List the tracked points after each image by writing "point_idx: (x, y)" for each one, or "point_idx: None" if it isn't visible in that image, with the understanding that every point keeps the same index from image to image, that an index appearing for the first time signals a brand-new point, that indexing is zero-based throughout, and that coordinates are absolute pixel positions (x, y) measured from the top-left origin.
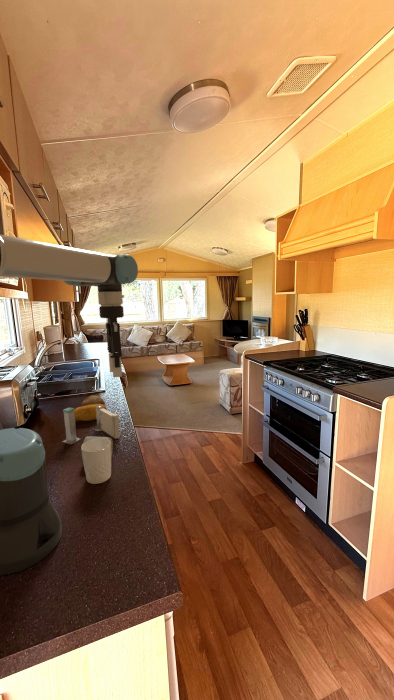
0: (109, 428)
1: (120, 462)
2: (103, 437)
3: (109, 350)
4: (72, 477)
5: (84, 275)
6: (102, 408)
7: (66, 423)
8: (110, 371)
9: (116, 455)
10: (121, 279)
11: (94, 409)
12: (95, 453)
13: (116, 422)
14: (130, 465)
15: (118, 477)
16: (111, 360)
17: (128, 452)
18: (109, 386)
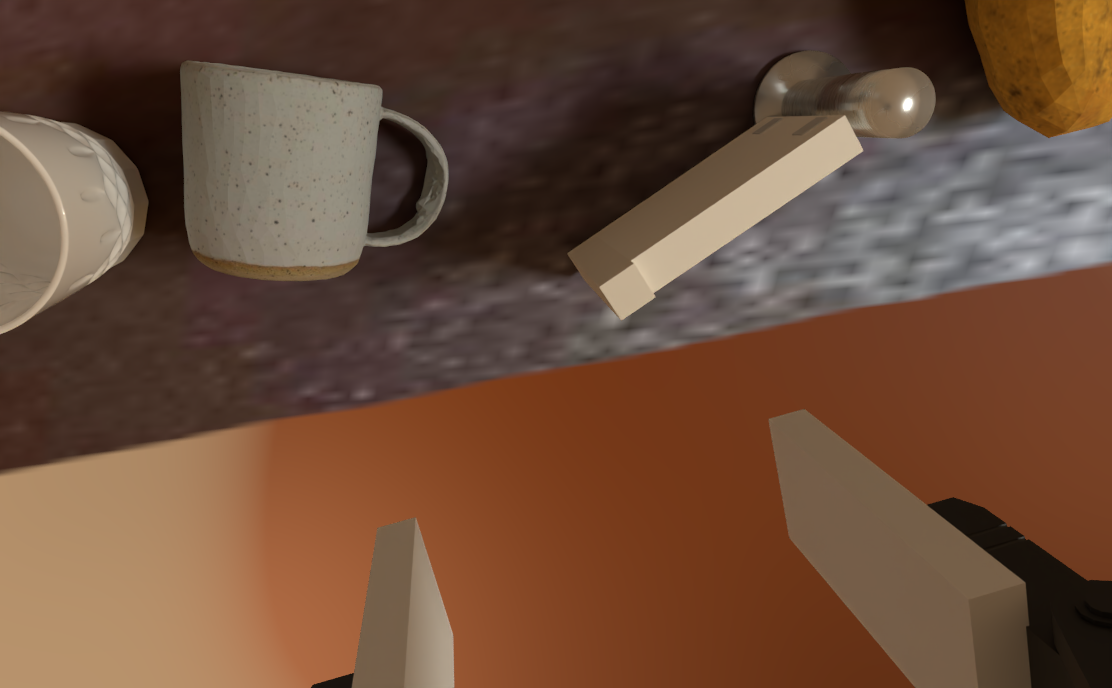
0: (655, 206)
1: (239, 315)
2: (275, 225)
3: (1070, 663)
4: (77, 21)
5: None
6: (882, 136)
7: None
8: (774, 428)
9: (337, 280)
10: None
11: (1026, 29)
12: None
13: (596, 289)
14: (193, 381)
15: (57, 321)
16: (878, 551)
17: (366, 355)
18: None
